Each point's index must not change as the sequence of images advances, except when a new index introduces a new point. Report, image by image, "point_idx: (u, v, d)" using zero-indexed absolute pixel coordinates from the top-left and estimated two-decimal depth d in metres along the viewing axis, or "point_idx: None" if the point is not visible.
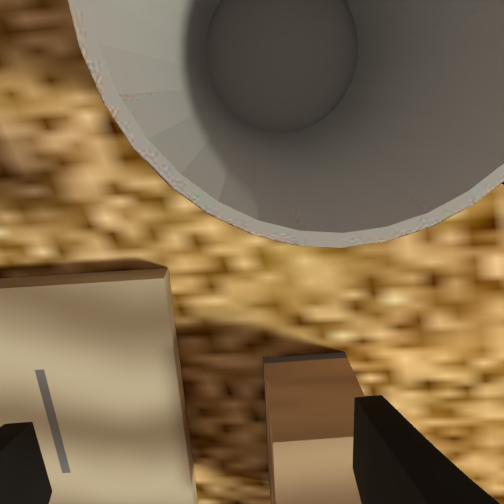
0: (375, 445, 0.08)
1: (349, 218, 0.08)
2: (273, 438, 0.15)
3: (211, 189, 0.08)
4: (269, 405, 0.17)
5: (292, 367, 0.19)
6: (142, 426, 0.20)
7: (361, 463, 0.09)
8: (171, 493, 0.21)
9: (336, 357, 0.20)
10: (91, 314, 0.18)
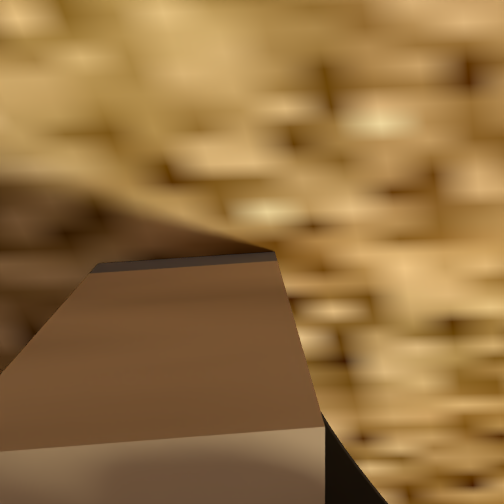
0: None
1: None
2: None
3: None
4: (26, 349, 0.06)
5: (146, 277, 0.08)
6: None
7: None
8: None
9: (254, 260, 0.09)
10: None
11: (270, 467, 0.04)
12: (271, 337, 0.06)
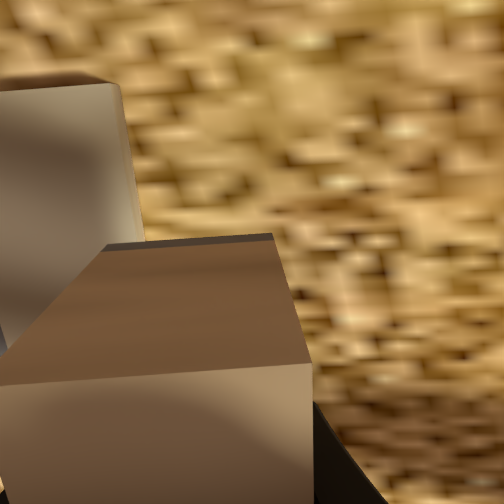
0: None
1: None
2: None
3: None
4: (47, 311, 0.07)
5: (153, 254, 0.09)
6: None
7: None
8: None
9: (253, 239, 0.10)
10: (20, 137, 0.14)
11: (265, 400, 0.05)
12: (267, 299, 0.07)
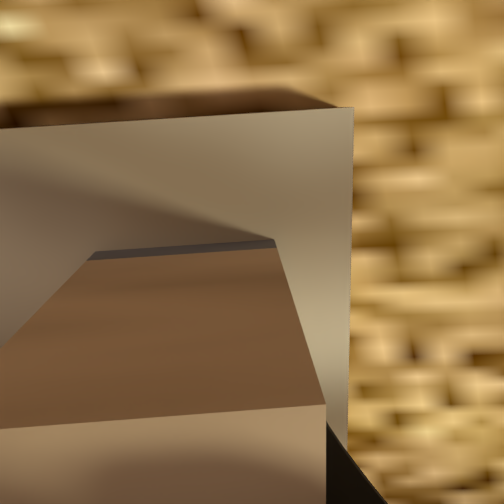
0: None
1: None
2: None
3: None
4: (20, 332, 0.06)
5: (144, 264, 0.08)
6: None
7: None
8: None
9: (253, 247, 0.09)
10: (202, 188, 0.09)
11: (270, 446, 0.04)
12: (271, 320, 0.06)
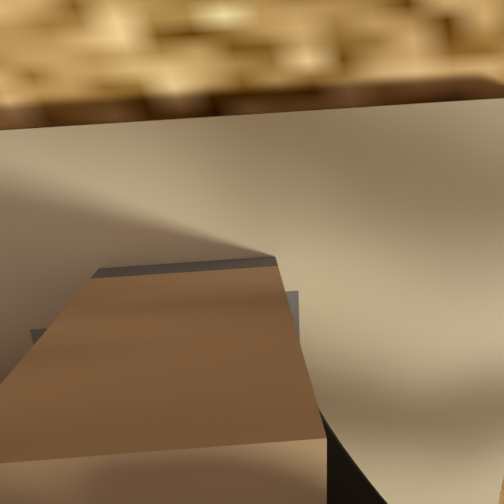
0: None
1: None
2: None
3: None
4: (27, 357, 0.06)
5: (147, 283, 0.08)
6: (446, 400, 0.11)
7: None
8: None
9: (255, 265, 0.09)
10: (413, 174, 0.09)
11: (272, 478, 0.04)
12: (272, 345, 0.06)
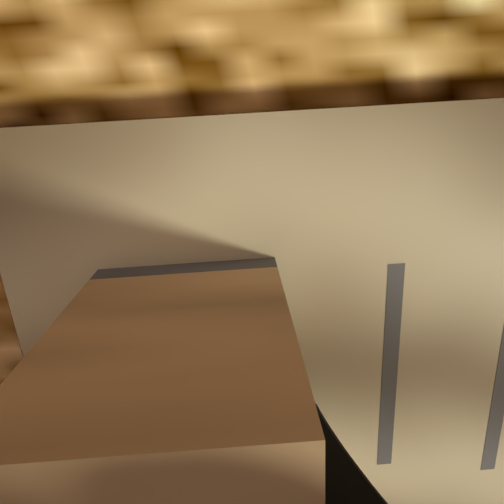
0: None
1: None
2: None
3: None
4: (26, 358, 0.06)
5: (146, 284, 0.08)
6: None
7: None
8: None
9: (254, 266, 0.09)
10: None
11: (271, 480, 0.04)
12: (271, 347, 0.06)
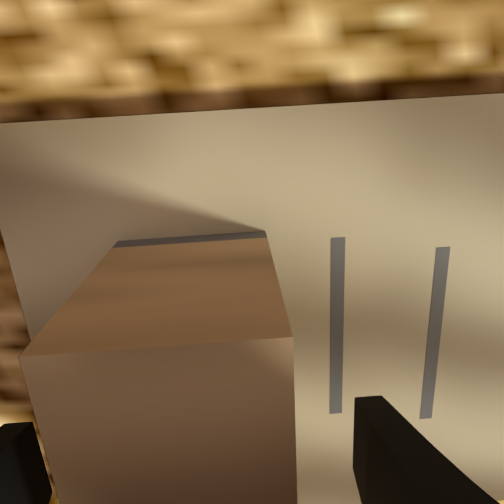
0: (375, 445, 0.08)
1: None
2: (27, 349, 0.06)
3: None
4: (71, 298, 0.08)
5: (159, 250, 0.10)
6: None
7: (361, 463, 0.09)
8: None
9: (248, 237, 0.11)
10: None
11: (255, 367, 0.06)
12: (258, 288, 0.08)
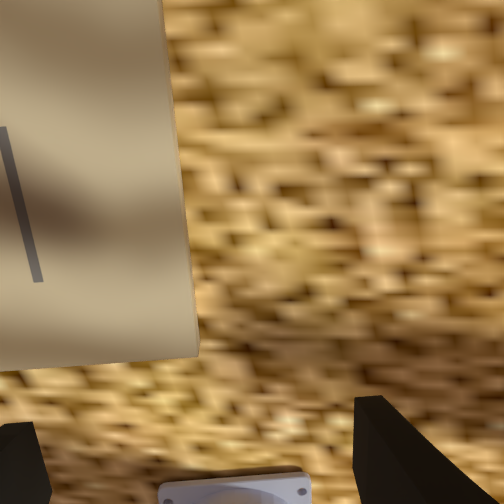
0: (375, 445, 0.08)
1: None
2: None
3: None
4: None
5: None
6: (130, 215, 0.16)
7: (361, 463, 0.09)
8: (167, 315, 0.17)
9: None
10: (64, 42, 0.14)
11: None
12: None
